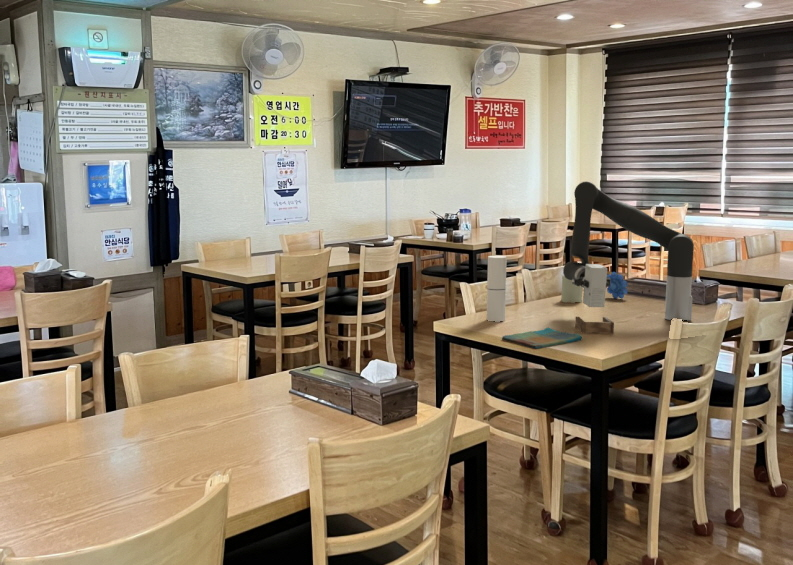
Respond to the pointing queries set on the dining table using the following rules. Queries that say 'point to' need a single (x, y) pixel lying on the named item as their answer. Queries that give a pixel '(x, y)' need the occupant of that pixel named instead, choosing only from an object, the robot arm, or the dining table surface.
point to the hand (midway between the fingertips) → (596, 284)
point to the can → (570, 291)
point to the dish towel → (542, 338)
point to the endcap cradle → (595, 326)
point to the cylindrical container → (496, 288)
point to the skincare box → (595, 285)
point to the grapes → (617, 285)
